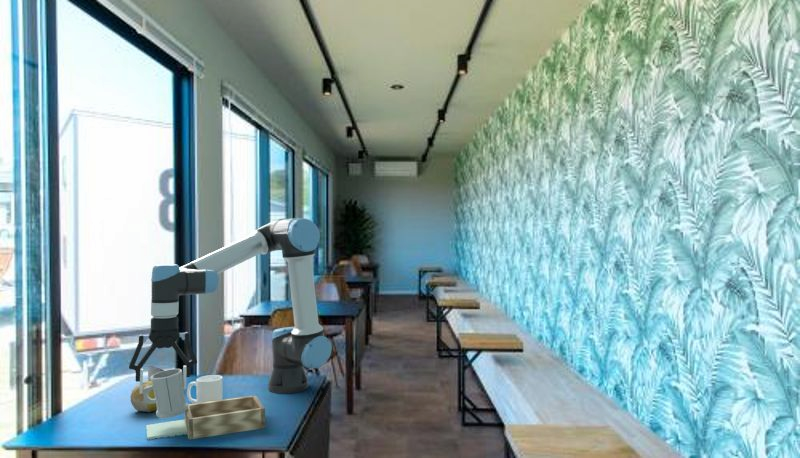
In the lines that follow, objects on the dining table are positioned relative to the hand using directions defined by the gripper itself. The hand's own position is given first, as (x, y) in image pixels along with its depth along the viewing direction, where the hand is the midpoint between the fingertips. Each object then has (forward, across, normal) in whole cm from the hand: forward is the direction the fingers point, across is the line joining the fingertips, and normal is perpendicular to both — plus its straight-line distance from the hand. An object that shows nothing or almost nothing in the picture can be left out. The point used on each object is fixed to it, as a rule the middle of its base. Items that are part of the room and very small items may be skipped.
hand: (163, 390), depth 163 cm
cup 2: (+12, -14, -18) cm, 26 cm away
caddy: (+12, -17, +3) cm, 21 cm away
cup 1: (+7, -2, 0) cm, 8 cm away
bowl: (+13, -2, -47) cm, 49 cm away
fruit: (+13, +4, -23) cm, 27 cm away
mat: (+13, -1, 0) cm, 13 cm away
